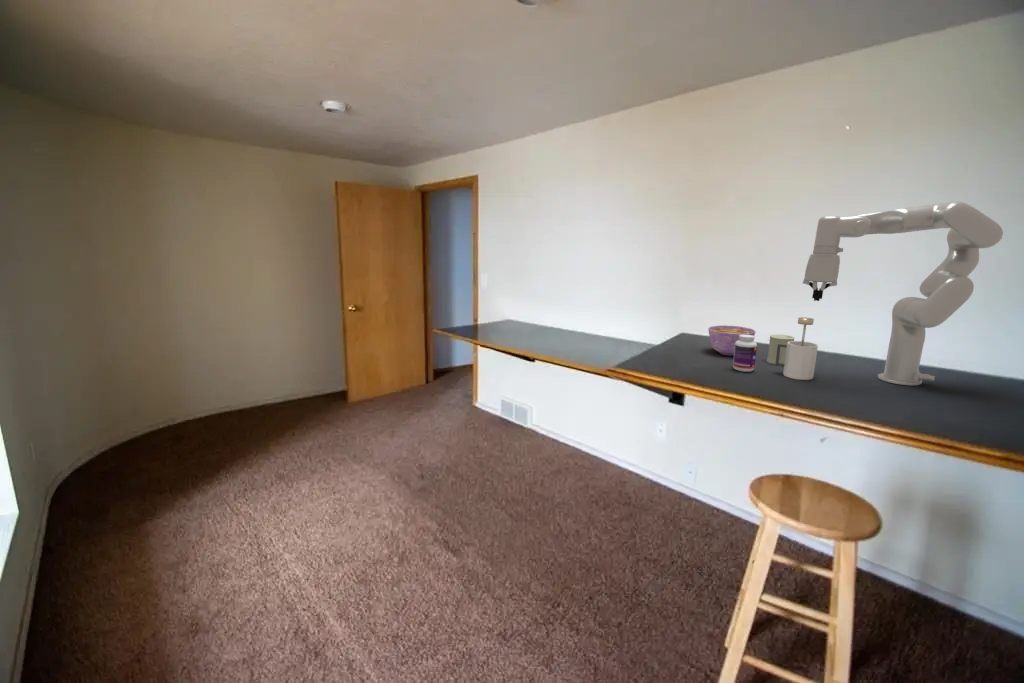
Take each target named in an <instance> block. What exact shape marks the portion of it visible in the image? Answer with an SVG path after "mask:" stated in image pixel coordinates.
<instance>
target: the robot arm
mask: <svg viewBox="0 0 1024 683" xmlns="http://www.w3.org/2000/svg"><path fill="white" fill-rule="evenodd" d="M816 228H817V229H816V232H815V238H814V239H815V240H814V244H813V250H812V253H811V254H809V257H808V260H807V262H806V263H807V264H806V267H805V271H804V272H805V273H804V278H803V281H802V284H804V285H807V286H810V288H811V289H812V290H813V291H812V296H811V298H812V299H813V301H815V302H816V301H817V302H819V301H820V300H822V299H823V296H824V295H823V294H824V291H825V290H827V288H829V287H836V286H837V285H838V277H839V271H840V264H841V263H840V262H841V256H840V255H838V254H839V253H843V252H844V247H840V243H841V242H840V241H841V238H860V237H863V236H866V235H877V234H880V235H881V234H882V235H885V234H886V235H887V234H888V235H892V234H904V233H911V232H919V231H921V232H922V231H928V230H929V231H930V230H938V229H949V230H948V233H947V235H946V242H947V245H948V253H947V256H945V259H944V260H943V261H941V263H940V264H939V265H938V266H936V268H935V269H934V270H933V271H932V272H931V273H929V275H927V277H925V279H924V280H923V281H922V282H921V283H920V286H919V292H920V293H921V295H923V296H924V297H926V298H922V297H916V296H907V297H903V298H900V299H899V300H898V301H897V302H895V304H894V305H893V308H892V310H891V318H892V319H891V320H892V321H891V333H890V339H889V343H888V348H887V349H888V350H887V353H886V354H887V355H886V359H885V364H884V371H883V372H882V373H878V374H877V378H878V379H879V380H881V381H883V382H886V383H891V384H895V385H900V386H920V385H922V383H923V380H924V381H929V382H934V381H935V377H936V376H935V375H930V374H928V373H922V372H920V369H919V368H920V364H921V359H922V355H923V349H924V345H925V341H926V340H925V339H926V329H932V328H936V327H938V326H940V325H941V324H943V323H944V322H945V321H947V320H948V318H950V317H951V316H952V315H953V314H954V313H955V312H956V311H957V310H959V309H960V308H961V307H962V306H963V305H964V304H965V303H966V302H967V301H968V300H969V299H970V297H971V296H972V295H973V292H974V288H975V286H974V282H973V280H972V279H970V277H968V276H970V274H971V273H972V272H974V271H975V269H976V268H977V267H978V266H977V265H979V261H980V250H979V249H987V248H988V249H989V248H991V247H994V246H995V245H998V243H999V242H1000V241H1001V240H1002V238H1003V235H1004V231H1003V228H1002V227H1001V225H1000V224H999V223H998V222H996V221H995V220H994V219H992V218H990V217H989V216H987V215H986V214H985V213H983V212H981V211H980V210H979V209H977V208H976V207H974V206H972V205H971V204H968V203H966V202H964V201H963V202H962V201H951V202H950V201H949V202H943V203H934V204H933V203H932V204H925V205H918V206H910V207H902V208H901V207H900V208H896V209H890V210H884V211H880V212H874V213H872V212H871V213H866V214H858V215H851V216H843V217H842V216H834V215H832V216H827V215H826V216H821V217H820V218H819V219H818V222H817V226H816ZM818 283H822V284H821V286H820V288H818Z"/></svg>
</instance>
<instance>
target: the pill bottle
mask: <svg viewBox="0 0 1024 683" xmlns="http://www.w3.org/2000/svg"><path fill="white" fill-rule="evenodd" d="M739 339H740V340H738V341H736V343H735V350H734V356H733V362H732V367H733V370H735V371H738V372H742V373H743V372H746V373H748V372H749V373H750V372H753V371H754V370H755V368H756V361H757V360H756V359H757V350H758V344H757V342H756V341H755V335H754V336H752V335H739Z"/></svg>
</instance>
